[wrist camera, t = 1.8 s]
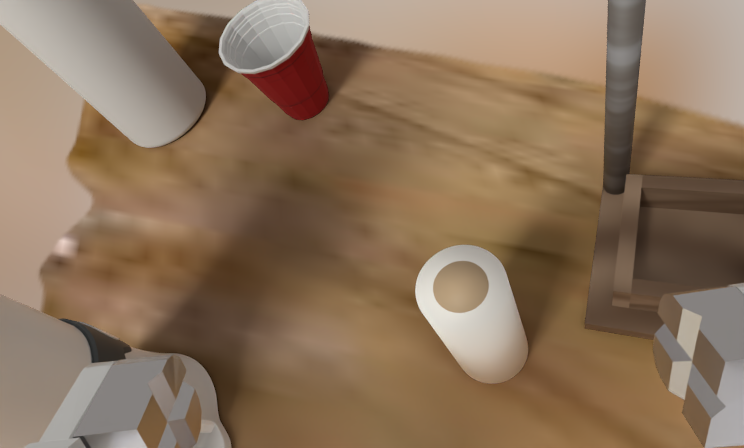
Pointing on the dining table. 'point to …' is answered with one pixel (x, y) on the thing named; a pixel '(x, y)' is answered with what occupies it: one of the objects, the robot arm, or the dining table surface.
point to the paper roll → (473, 312)
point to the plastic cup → (277, 55)
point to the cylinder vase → (112, 63)
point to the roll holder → (653, 210)
